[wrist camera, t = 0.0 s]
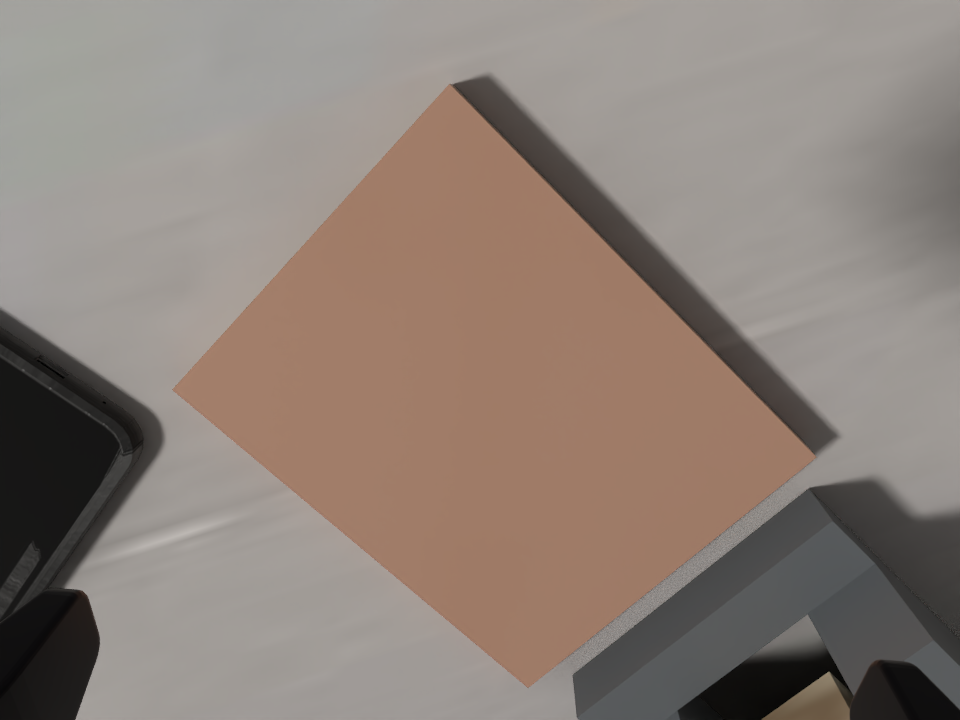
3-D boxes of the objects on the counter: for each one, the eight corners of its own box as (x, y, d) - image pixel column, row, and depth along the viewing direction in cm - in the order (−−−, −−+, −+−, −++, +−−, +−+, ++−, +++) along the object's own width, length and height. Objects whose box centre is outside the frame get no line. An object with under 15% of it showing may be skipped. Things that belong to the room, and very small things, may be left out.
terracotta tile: (527, 667, 28) (528, 688, 27) (185, 378, 25) (172, 389, 24) (804, 443, 25) (816, 457, 24) (452, 84, 22) (449, 83, 21)
